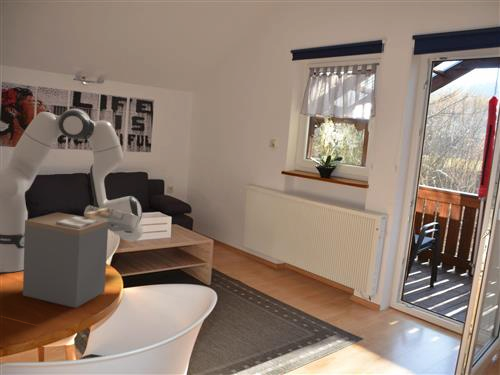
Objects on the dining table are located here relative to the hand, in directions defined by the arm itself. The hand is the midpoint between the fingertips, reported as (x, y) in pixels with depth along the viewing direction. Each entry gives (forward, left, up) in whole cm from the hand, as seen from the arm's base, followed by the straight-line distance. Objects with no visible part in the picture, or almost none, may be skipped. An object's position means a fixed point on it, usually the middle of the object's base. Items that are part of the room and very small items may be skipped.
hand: (101, 209), depth 167 cm
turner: (0, -7, -3) cm, 8 cm away
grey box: (-5, -12, -29) cm, 31 cm away
